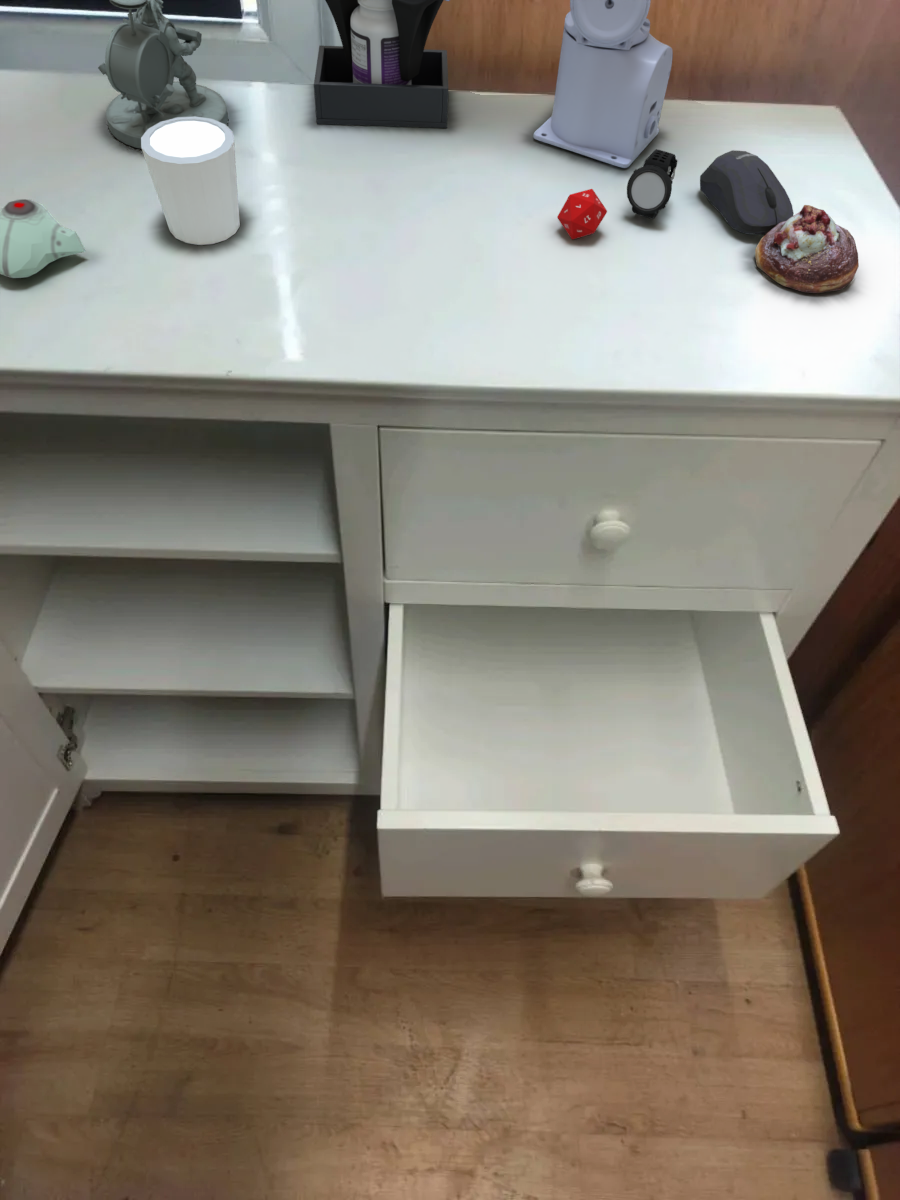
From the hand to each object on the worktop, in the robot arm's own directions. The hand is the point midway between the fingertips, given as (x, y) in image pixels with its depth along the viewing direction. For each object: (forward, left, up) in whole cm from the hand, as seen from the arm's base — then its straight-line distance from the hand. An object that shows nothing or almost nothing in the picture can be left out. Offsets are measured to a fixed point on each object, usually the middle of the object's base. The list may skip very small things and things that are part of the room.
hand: (382, 67), depth 81 cm
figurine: (+14, +14, -4) cm, 20 cm away
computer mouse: (-35, -2, -3) cm, 35 cm away
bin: (0, 0, -3) cm, 3 cm away
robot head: (+8, +39, -2) cm, 40 cm away
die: (-25, +9, -4) cm, 26 cm away
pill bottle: (0, 0, -3) cm, 3 cm away
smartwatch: (-29, +3, -4) cm, 29 cm away
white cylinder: (+1, +25, -4) cm, 25 cm away
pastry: (-42, +3, -4) cm, 42 cm away
